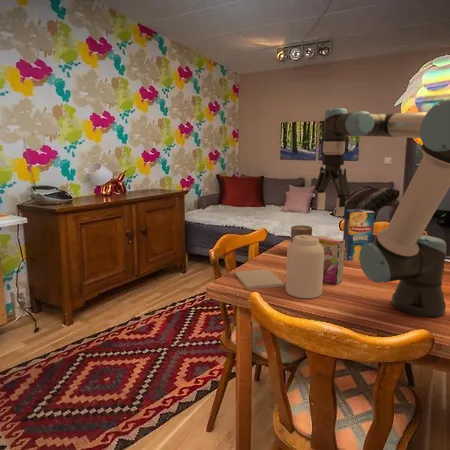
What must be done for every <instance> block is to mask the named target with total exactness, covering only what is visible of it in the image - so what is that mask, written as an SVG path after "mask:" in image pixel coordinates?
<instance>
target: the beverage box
mask: <svg viewBox="0 0 450 450" xmlns="http://www.w3.org/2000/svg"><path fill="white" fill-rule="evenodd" d="M375 214H376V212H375V211H373V210H370V209H344V221H343V222H344V223H343V234H342V235H343V236H342V240H344V241H345V250H344V260H345V261H348V262H349V261H353V262H355V261H356V262H357V261H359V254H360V250H361V248H362V247H363V246H364V245H365V244H367V243H373V241H374V240H373V238H374V227H375V226H374V225H375V216H376V215H375ZM359 262H360V261H359Z"/></svg>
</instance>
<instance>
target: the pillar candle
mask: <svg viewBox="0 0 450 450" xmlns="http://www.w3.org/2000/svg"><path fill="white" fill-rule="evenodd" d="M297 235H312V236H313V227H312V226H310V225H303V224H301V225H299V224H298V225H297V224H296V225H292V226H291V227H290V243H292V242H293V238H294V237H295V236H297Z"/></svg>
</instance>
